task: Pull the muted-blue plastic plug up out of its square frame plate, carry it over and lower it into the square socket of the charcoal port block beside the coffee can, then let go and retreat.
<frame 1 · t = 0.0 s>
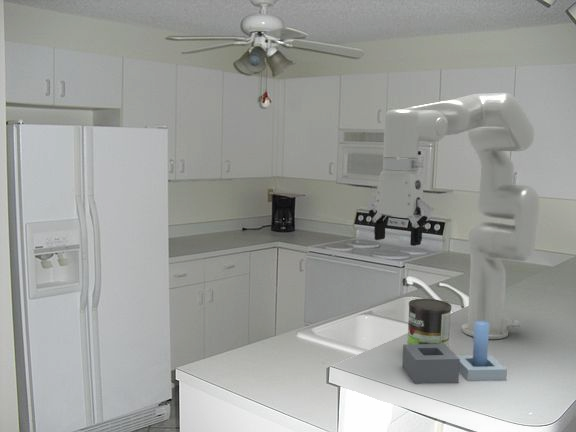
hand: (397, 242, 136), 31 cm above the counter, tool pointing down, fingers open, 9 cm apart
coffee can: (427, 359, 150), on the counter
plug: (479, 372, 140), resting on square frame plate
port: (429, 376, 139), on the counter
square frame plate: (479, 374, 140), on the counter
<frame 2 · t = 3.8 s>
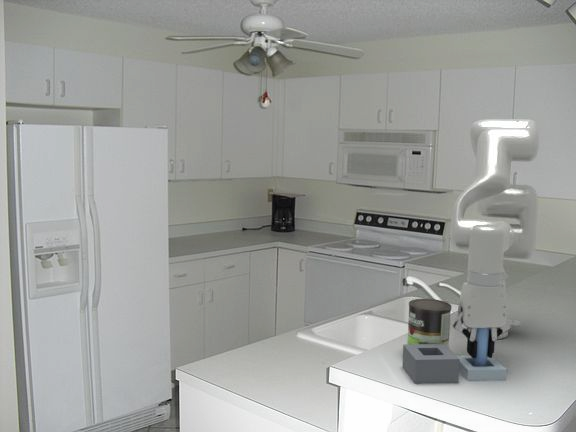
hand: (480, 355, 140), 5 cm above the counter, tool pointing down, fingers closed on plug, 3 cm apart
plug: (479, 372, 140), resting on square frame plate, touching gripper
everything else where it was.
when the fingers open (7 cm above the counter, at t = 8.3 s): plug drops 2 cm, resting in port.
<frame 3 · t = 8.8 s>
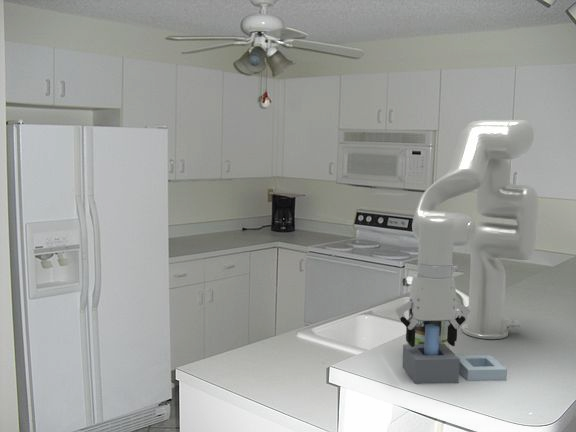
hand: (431, 344, 138), 8 cm above the counter, tool pointing down, fingers open, 9 cm apart
plug: (429, 376, 139), resting in port
everything else where it was.
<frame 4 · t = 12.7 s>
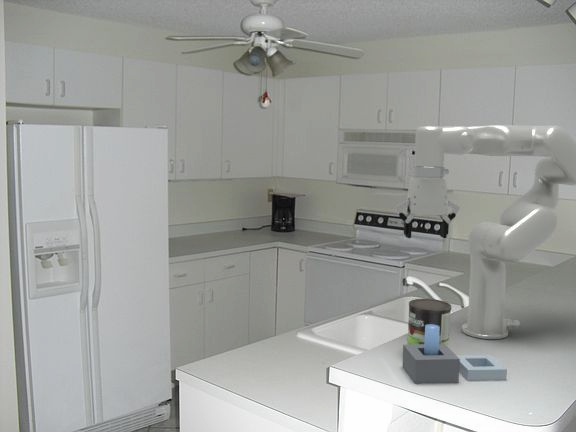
hand: (425, 237, 161), 28 cm above the counter, tool pointing down, fingers open, 9 cm apart
nothing on the counter moved.
at the end: plug 0.1 cm off-centre on the port, point 0.0 cm above the port's base; plug tilted 1°; the gripper is holding nothing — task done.
